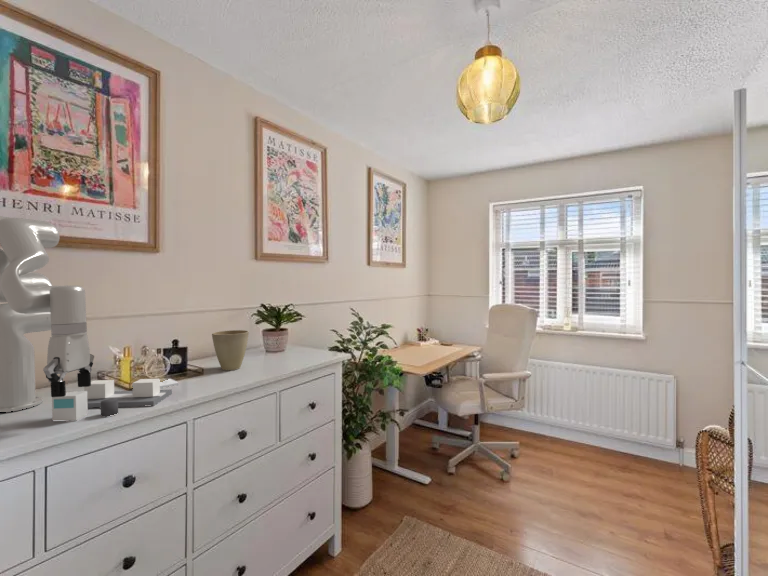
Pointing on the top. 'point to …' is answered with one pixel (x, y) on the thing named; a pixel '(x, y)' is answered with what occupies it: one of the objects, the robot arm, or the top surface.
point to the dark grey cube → (109, 407)
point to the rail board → (126, 393)
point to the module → (70, 406)
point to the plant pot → (230, 348)
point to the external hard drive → (168, 383)
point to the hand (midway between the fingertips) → (72, 391)
